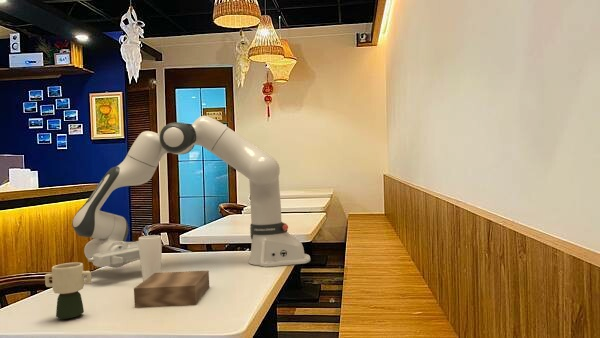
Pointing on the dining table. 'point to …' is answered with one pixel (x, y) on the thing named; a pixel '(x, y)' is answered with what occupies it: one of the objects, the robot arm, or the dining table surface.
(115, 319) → the dining table surface
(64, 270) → the character mug
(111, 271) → the dining table surface
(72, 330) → the dining table surface
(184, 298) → the walnut riser dock
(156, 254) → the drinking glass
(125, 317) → the dining table surface
